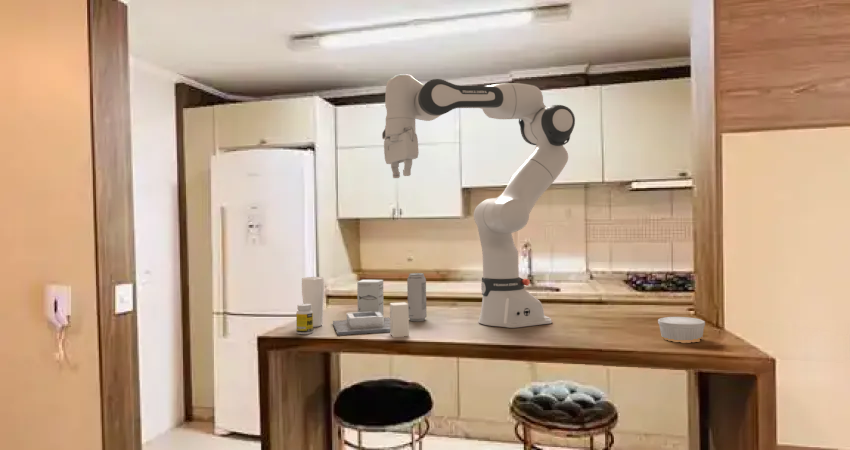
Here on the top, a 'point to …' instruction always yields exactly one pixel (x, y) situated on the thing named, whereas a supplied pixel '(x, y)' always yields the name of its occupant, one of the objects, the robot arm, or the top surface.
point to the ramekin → (681, 328)
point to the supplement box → (370, 295)
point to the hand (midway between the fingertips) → (401, 177)
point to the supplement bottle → (304, 319)
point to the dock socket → (362, 323)
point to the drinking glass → (314, 297)
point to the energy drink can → (416, 296)
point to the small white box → (399, 319)
